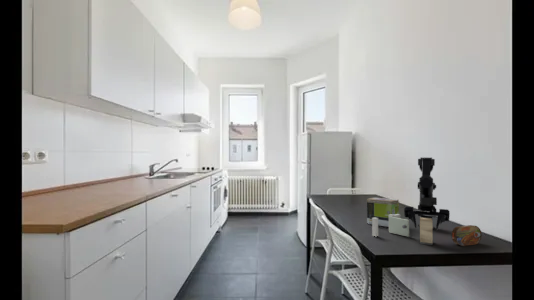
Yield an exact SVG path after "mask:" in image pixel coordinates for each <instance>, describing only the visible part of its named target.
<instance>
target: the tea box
mask: <svg viewBox="0 0 534 300" xmlns="http://www.w3.org/2000/svg"><path fill="white" fill-rule="evenodd" d="M399 203H400V202H399V199H396V198H395V199H394V198H383V197H369V198H367V199H366V223H368V224H369V225H372V218H374V217H375V218H378V227H379V226H380V227H387V228H389V214H393V215H395V214H400V205H399ZM368 224H367V225H368Z"/></svg>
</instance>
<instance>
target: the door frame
mask: <svg viewBox="0 0 534 300" xmlns="http://www.w3.org/2000/svg"><path fill="white" fill-rule="evenodd" d="M389 217H396V218H401V214H400V213H399V214H395V215H393V214H389ZM371 228H372V229H371V237H374V236H375V238H378V237H379V225H378V218H375V217H374V218H372V224H371ZM377 236H378V237H377Z"/></svg>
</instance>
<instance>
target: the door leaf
mask: <svg viewBox="0 0 534 300" xmlns="http://www.w3.org/2000/svg"><path fill="white" fill-rule="evenodd" d="M388 232H389V233H391V234H394V235H400V236H402V237H408V238H409V237H410V219H407V218H401V217H400V218H396V217H389V227H388Z"/></svg>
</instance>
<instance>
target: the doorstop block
mask: <svg viewBox="0 0 534 300" xmlns="http://www.w3.org/2000/svg"><path fill="white" fill-rule="evenodd" d="M419 225H420V226H419V244H421V245H430V246H433V244H434V242H433V240H434V239H433V228H432V226H433V217H432V218H423V217H421V216H419Z"/></svg>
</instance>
